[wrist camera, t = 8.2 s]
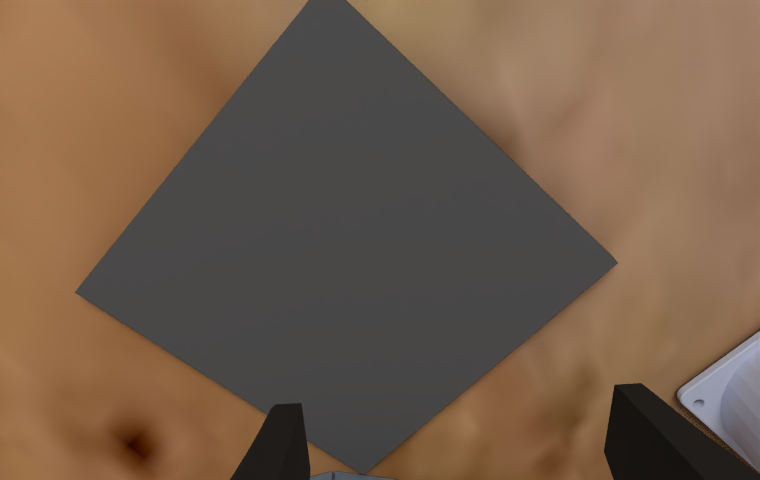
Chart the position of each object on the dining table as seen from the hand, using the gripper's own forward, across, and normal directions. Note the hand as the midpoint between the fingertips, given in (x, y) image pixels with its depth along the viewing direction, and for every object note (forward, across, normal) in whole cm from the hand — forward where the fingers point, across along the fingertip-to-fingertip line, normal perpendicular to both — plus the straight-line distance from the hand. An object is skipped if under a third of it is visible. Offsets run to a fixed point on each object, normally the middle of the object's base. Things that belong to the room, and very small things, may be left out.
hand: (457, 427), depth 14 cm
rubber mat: (+10, +3, +1) cm, 11 cm away
